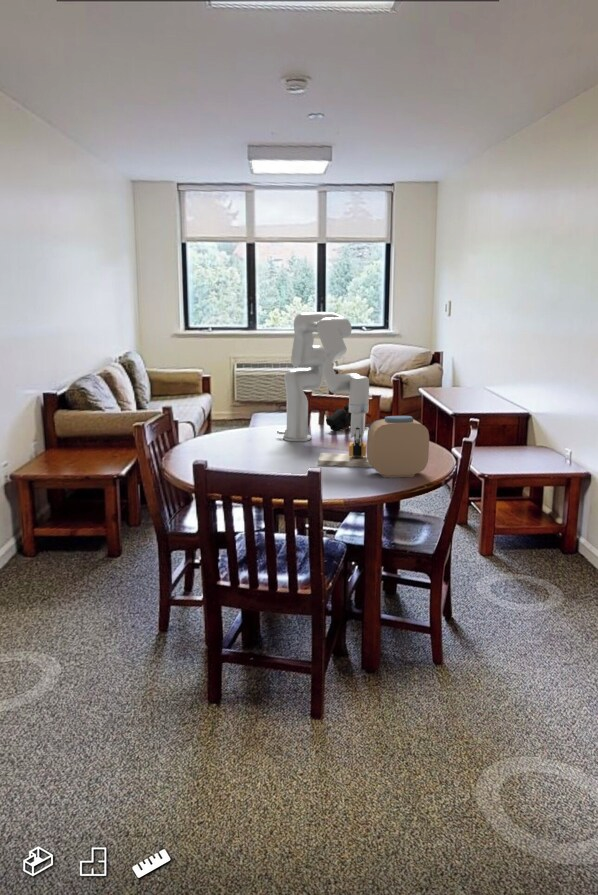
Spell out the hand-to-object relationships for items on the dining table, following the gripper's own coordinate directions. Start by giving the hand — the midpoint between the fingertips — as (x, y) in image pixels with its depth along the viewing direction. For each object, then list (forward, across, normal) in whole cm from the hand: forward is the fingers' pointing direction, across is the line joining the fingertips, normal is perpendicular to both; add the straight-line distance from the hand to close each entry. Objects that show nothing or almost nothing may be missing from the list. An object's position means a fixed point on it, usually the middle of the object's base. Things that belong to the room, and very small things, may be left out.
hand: (357, 453), depth 268 cm
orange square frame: (0, 0, 0) cm, 0 cm away
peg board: (+4, 0, -4) cm, 6 cm away
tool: (+4, -64, -8) cm, 65 cm away
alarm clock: (+4, +15, +15) cm, 22 cm away
